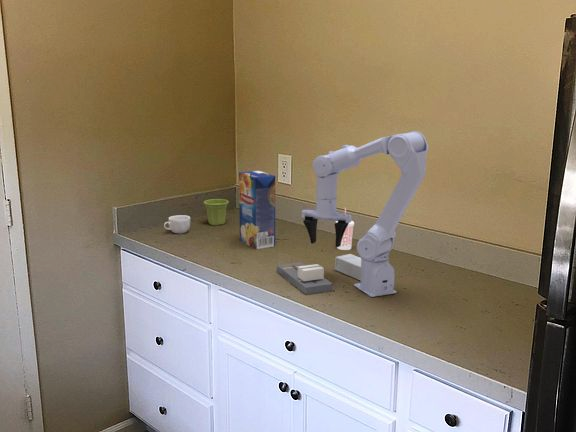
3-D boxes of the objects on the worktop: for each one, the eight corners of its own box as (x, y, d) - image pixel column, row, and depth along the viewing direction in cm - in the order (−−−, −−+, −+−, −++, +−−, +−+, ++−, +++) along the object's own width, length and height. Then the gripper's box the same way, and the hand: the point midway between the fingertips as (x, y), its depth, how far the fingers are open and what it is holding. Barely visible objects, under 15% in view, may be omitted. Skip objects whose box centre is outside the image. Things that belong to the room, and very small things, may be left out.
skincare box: (334, 270, 182) (361, 283, 172) (334, 255, 180) (361, 268, 171) (350, 266, 185) (377, 278, 175) (350, 252, 184) (378, 264, 174)
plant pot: (201, 226, 230) (200, 203, 228) (208, 220, 239) (207, 198, 237) (225, 227, 229) (224, 204, 227) (231, 221, 238) (231, 199, 236)
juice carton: (275, 246, 205) (275, 175, 199) (255, 249, 202) (255, 177, 196) (258, 237, 215) (258, 170, 209) (239, 240, 212) (238, 172, 206)
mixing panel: (332, 290, 165) (332, 283, 164) (305, 294, 162) (305, 287, 161) (301, 268, 183) (301, 261, 182) (277, 271, 180) (277, 265, 179)
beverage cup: (348, 244, 208) (350, 204, 204) (356, 249, 202) (357, 208, 199) (332, 246, 206) (333, 205, 202) (339, 251, 200) (340, 209, 197)
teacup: (184, 228, 227) (184, 214, 226) (194, 232, 221) (194, 218, 220) (159, 232, 221) (159, 217, 220) (169, 237, 215) (168, 222, 214)
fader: (323, 278, 167) (323, 267, 166) (303, 281, 165) (303, 270, 164) (317, 274, 171) (317, 263, 170) (297, 276, 168) (297, 266, 168)
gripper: (355, 197, 171) (354, 244, 174) (308, 192, 177) (308, 237, 180) (346, 202, 165) (345, 250, 168) (298, 197, 171) (298, 243, 174)
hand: (325, 244), depth 174 cm, fingers open, 7 cm apart
